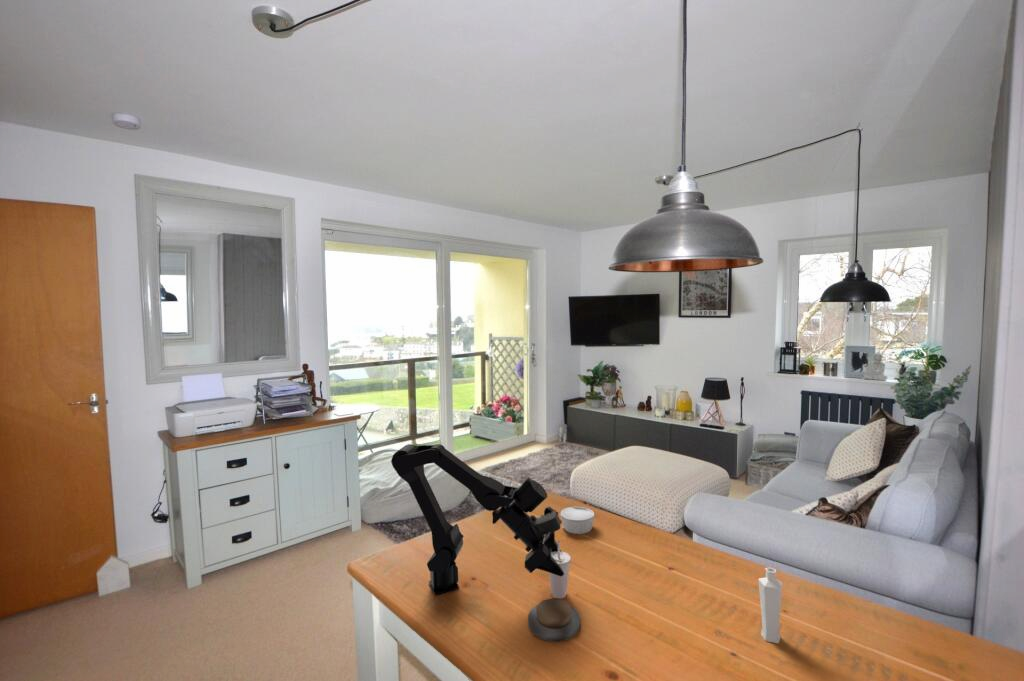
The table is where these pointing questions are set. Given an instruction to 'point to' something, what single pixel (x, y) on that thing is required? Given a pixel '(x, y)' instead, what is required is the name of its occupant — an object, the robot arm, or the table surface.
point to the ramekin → (577, 519)
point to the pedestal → (554, 620)
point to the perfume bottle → (770, 605)
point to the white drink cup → (560, 582)
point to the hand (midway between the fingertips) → (563, 568)
